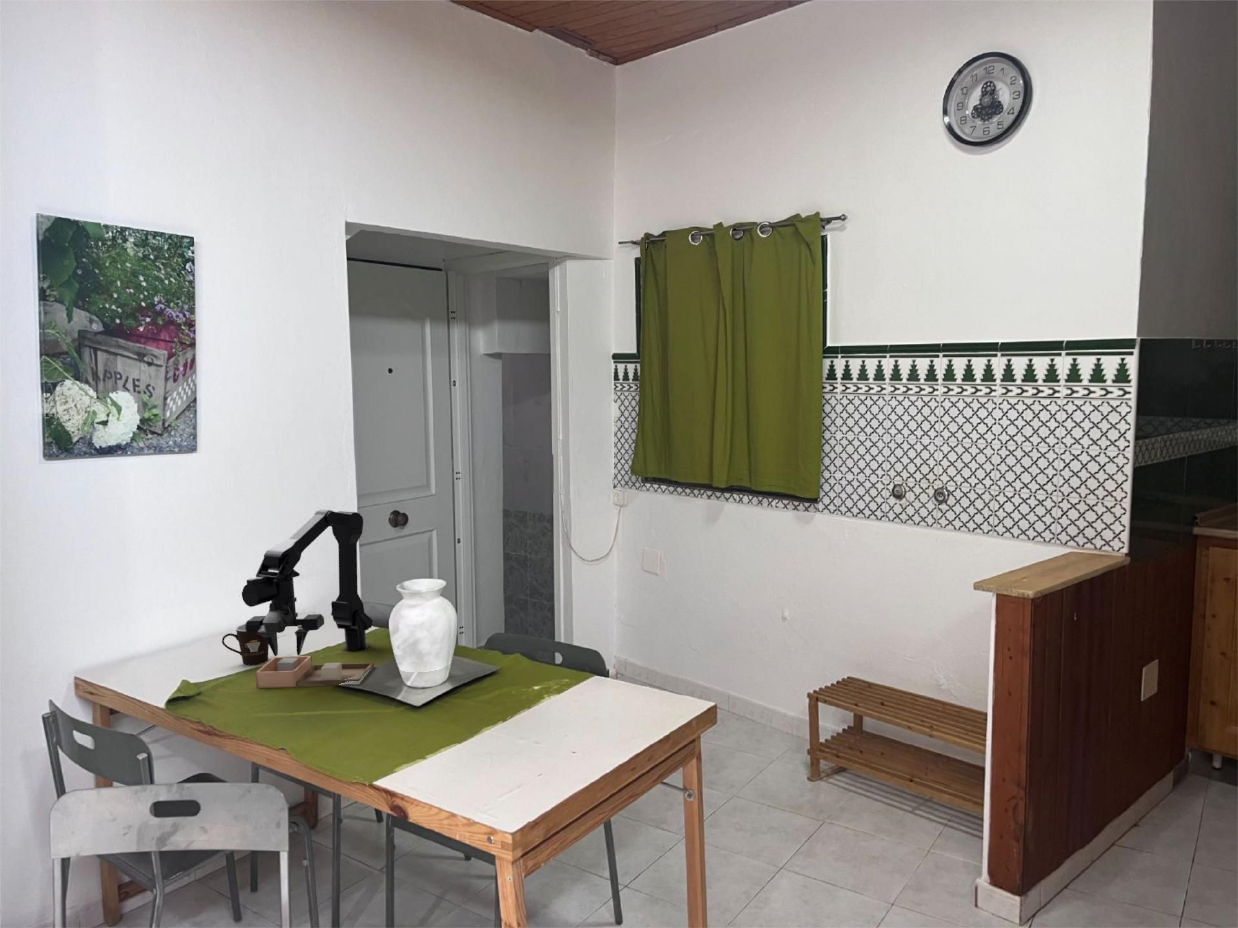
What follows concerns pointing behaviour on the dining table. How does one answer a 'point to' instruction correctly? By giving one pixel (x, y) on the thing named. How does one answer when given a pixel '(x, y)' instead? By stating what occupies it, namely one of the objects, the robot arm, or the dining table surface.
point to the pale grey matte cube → (288, 664)
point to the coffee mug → (250, 646)
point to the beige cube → (331, 671)
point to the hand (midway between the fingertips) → (287, 655)
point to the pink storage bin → (281, 673)
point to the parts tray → (348, 670)
